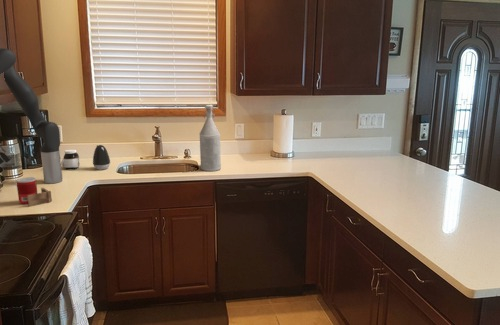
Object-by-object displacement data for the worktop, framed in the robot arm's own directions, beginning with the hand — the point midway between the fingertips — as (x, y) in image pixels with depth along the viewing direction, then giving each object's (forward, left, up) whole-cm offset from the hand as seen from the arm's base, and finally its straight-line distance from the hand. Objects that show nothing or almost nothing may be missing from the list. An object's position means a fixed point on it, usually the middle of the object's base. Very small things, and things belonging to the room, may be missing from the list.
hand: (5, 162), depth 192 cm
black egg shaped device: (-64, +20, -19) cm, 69 cm away
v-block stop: (+2, +17, -19) cm, 25 cm away
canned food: (+2, +10, -19) cm, 21 cm away
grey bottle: (-65, +88, -19) cm, 111 cm away
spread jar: (-66, -1, -19) cm, 68 cm away
